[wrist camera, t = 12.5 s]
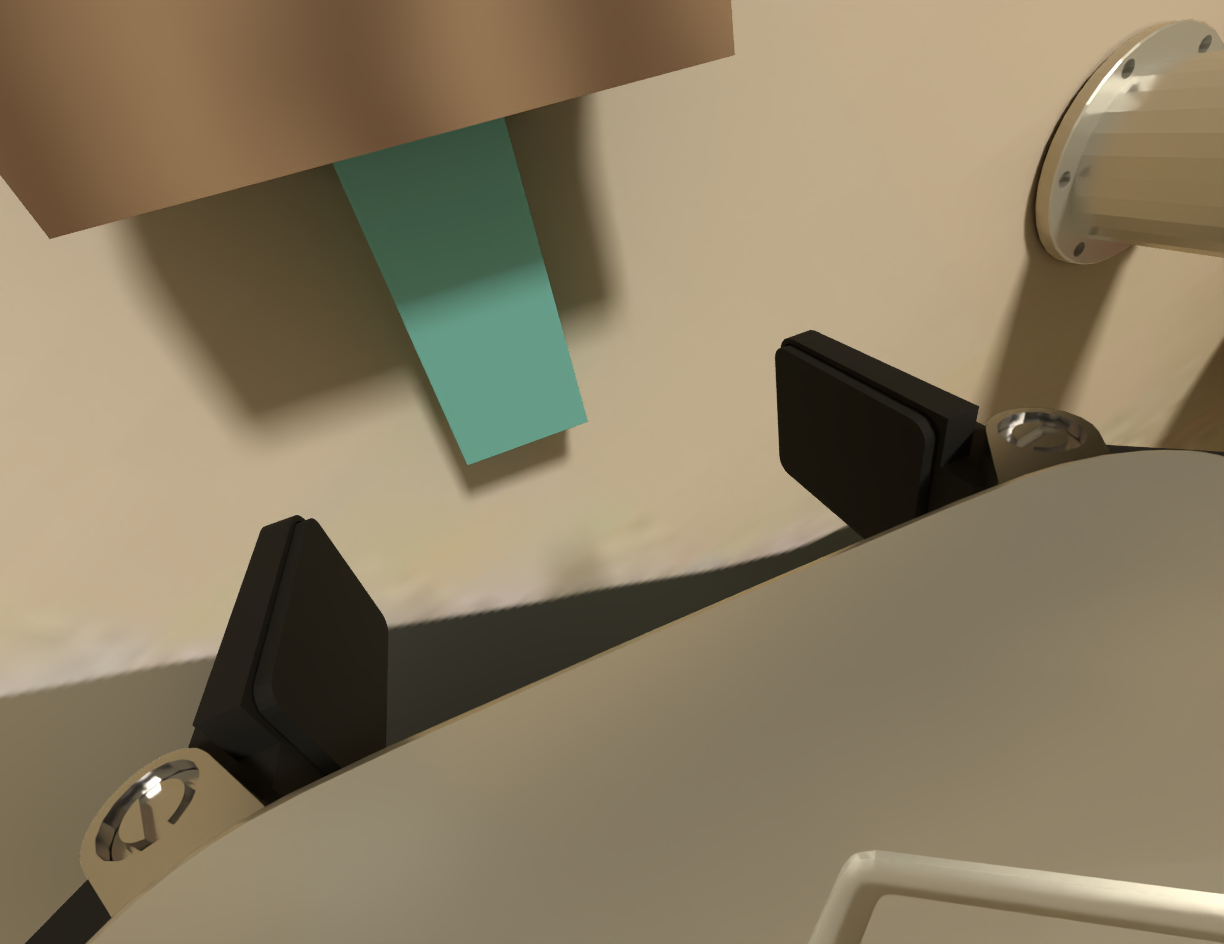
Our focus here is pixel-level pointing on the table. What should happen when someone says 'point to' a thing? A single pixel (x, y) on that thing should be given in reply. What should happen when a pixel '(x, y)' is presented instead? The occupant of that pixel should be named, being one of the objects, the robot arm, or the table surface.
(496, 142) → the teal flat plank
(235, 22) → the overhang shelf
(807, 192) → the table surface
